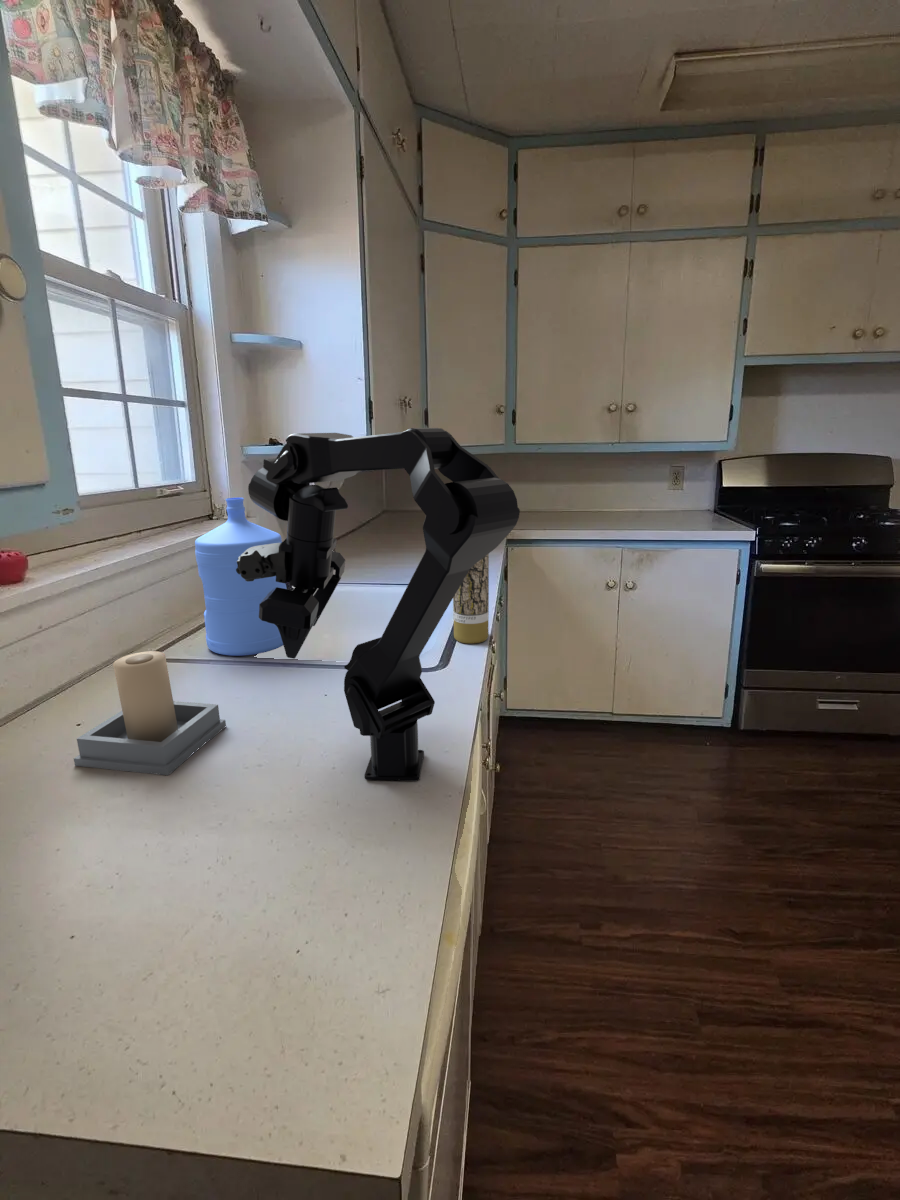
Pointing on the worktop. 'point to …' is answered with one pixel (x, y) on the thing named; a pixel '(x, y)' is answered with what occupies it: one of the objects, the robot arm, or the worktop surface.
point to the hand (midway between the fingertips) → (301, 640)
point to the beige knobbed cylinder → (146, 696)
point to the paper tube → (472, 605)
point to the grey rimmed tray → (149, 742)
